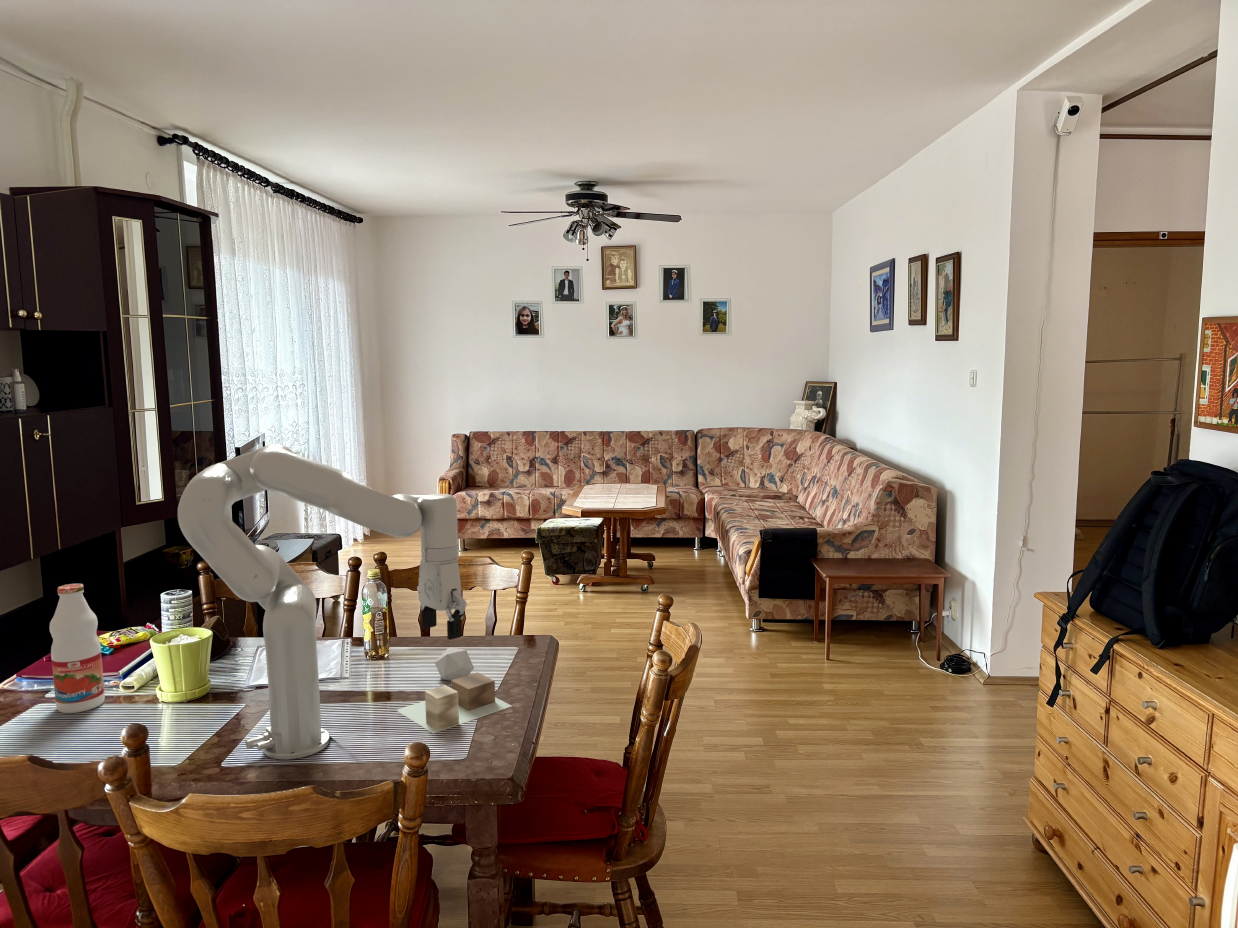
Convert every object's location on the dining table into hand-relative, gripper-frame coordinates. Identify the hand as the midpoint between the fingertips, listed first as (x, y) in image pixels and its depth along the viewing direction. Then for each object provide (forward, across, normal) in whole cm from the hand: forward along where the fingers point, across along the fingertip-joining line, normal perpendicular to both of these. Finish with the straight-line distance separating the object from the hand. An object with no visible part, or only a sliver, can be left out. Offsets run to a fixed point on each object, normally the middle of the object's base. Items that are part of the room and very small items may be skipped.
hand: (441, 632), depth 175 cm
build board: (+20, -4, +5) cm, 22 cm away
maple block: (+20, +1, -1) cm, 20 cm away
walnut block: (+20, -4, +10) cm, 22 cm away
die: (+21, -20, +16) cm, 33 cm away
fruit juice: (+21, -67, -53) cm, 89 cm away
